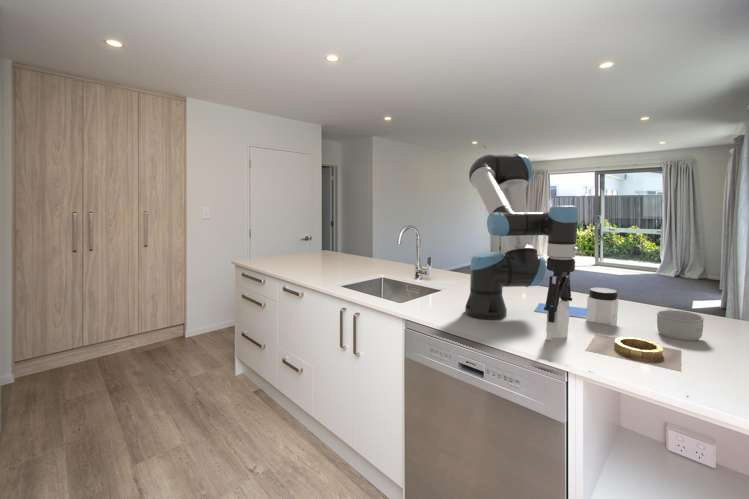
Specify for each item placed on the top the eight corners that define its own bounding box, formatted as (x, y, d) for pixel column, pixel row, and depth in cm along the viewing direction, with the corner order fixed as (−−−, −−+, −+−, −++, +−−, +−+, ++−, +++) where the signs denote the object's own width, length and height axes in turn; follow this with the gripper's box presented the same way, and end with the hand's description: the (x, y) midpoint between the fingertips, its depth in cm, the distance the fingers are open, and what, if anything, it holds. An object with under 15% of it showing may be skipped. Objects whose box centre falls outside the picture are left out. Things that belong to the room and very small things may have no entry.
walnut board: (585, 355, 98) (585, 350, 98) (595, 338, 110) (595, 334, 110) (680, 377, 85) (681, 371, 85) (680, 355, 97) (681, 350, 97)
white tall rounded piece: (565, 299, 111) (573, 304, 106) (563, 336, 113) (571, 343, 107) (545, 299, 112) (552, 304, 106) (543, 336, 113) (550, 342, 108)
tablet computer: (533, 312, 140) (533, 309, 139) (538, 305, 150) (538, 302, 150) (591, 320, 129) (591, 317, 129) (592, 311, 140) (592, 308, 140)
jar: (607, 330, 118) (610, 294, 117) (582, 323, 125) (584, 289, 123) (620, 324, 123) (622, 290, 121) (595, 318, 130) (597, 286, 128)
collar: (611, 352, 96) (612, 345, 96) (617, 341, 104) (617, 334, 104) (661, 363, 90) (661, 355, 89) (662, 350, 98) (663, 343, 97)
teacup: (705, 349, 101) (708, 322, 100) (657, 342, 107) (659, 316, 106) (694, 334, 113) (697, 309, 112) (651, 328, 119) (653, 305, 118)
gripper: (564, 264, 95) (560, 341, 98) (583, 254, 114) (580, 318, 117) (534, 261, 100) (531, 334, 103) (558, 252, 119) (555, 314, 121)
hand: (557, 326), depth 110 cm, fingers open, 13 cm apart
